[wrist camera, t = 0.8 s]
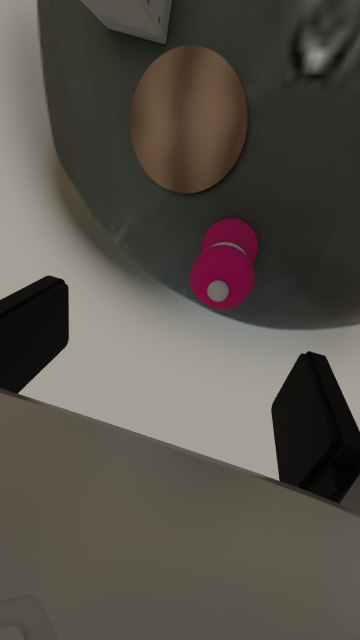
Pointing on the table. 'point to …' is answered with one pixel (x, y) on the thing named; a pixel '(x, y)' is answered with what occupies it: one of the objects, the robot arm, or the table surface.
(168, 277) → the table surface
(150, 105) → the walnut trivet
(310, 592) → the robot arm
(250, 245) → the pepper mill
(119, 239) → the table surface
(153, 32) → the supplement box
